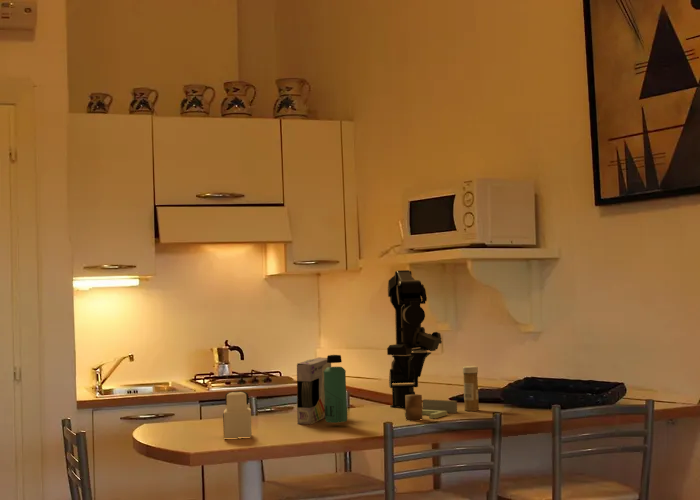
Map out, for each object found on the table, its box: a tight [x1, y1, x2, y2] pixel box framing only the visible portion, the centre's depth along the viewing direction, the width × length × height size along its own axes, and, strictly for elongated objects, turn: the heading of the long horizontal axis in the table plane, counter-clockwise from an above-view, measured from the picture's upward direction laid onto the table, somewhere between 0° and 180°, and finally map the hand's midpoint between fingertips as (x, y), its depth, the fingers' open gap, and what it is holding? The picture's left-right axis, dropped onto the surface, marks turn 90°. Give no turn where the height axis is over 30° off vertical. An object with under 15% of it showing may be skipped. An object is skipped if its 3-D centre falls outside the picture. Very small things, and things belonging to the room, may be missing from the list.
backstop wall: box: [422, 398, 458, 414], centre depth 293 cm, size 11×1×4 cm, turn 57°
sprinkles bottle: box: [462, 365, 480, 412], centre depth 295 cm, size 5×5×14 cm
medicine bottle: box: [222, 390, 253, 439], centre depth 256 cm, size 7×7×12 cm
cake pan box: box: [296, 356, 332, 425], centre depth 284 cm, size 19×5×18 cm, turn 162°
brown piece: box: [405, 393, 423, 421], centre depth 279 cm, size 5×5×7 cm
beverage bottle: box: [324, 354, 349, 424], centre depth 270 cm, size 6×7×20 cm
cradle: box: [404, 409, 448, 419], centre depth 285 cm, size 10×8×1 cm
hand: (412, 377), depth 279 cm, fingers open, 6 cm apart
